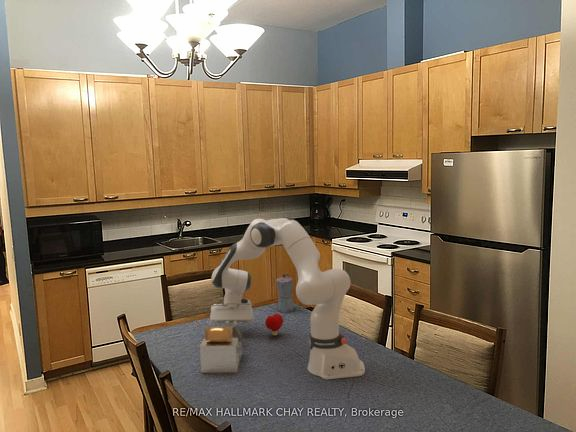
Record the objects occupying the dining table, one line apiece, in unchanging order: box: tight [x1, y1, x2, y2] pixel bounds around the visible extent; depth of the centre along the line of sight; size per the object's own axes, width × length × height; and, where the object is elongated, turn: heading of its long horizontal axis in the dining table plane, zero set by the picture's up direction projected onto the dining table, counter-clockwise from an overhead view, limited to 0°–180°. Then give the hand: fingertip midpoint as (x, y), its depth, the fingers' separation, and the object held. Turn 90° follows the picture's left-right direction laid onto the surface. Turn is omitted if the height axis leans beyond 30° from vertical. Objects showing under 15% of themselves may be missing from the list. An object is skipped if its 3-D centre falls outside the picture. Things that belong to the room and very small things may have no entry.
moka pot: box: [275, 273, 295, 313], centre depth 263 cm, size 10×15×20 cm, turn 171°
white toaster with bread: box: [199, 326, 243, 374], centre depth 200 cm, size 14×17×17 cm
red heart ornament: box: [265, 313, 284, 337], centre depth 228 cm, size 9×7×10 cm
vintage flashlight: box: [223, 323, 244, 341], centre depth 217 cm, size 12×8×10 cm
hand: (230, 331), depth 224 cm, fingers closed
